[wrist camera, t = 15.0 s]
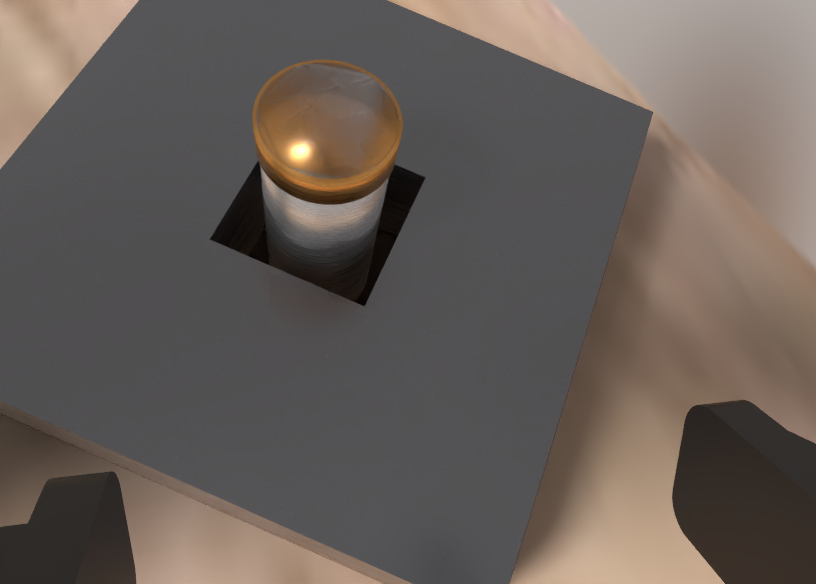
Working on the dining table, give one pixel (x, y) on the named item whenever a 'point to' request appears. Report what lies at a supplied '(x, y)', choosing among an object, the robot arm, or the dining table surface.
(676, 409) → the dining table surface
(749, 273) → the dining table surface
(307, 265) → the pin
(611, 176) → the block
